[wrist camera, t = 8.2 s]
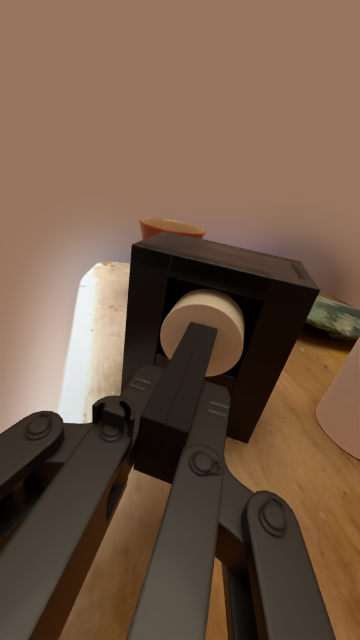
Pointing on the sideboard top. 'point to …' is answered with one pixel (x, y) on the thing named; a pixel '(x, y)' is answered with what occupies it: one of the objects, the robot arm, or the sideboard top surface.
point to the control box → (244, 288)
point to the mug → (168, 228)
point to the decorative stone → (335, 319)
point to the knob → (212, 312)
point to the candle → (343, 405)
